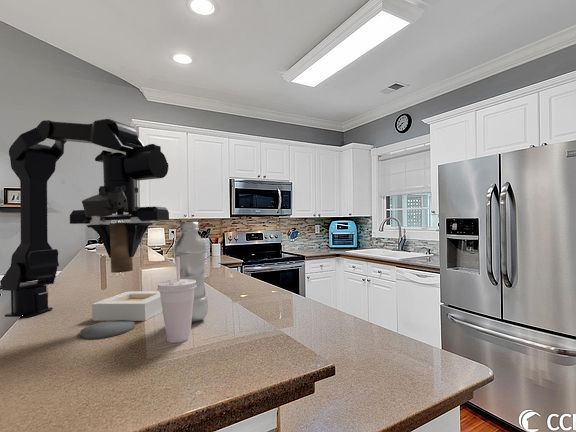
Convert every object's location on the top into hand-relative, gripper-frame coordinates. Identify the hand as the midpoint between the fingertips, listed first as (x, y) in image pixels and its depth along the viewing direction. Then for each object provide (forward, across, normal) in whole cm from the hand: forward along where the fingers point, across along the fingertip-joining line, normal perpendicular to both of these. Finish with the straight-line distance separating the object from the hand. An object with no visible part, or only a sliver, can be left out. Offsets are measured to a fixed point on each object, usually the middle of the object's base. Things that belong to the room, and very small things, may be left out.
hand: (121, 257), depth 68 cm
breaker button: (+12, -1, +6) cm, 14 cm away
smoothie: (+14, +16, -10) cm, 23 cm away
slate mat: (+13, 0, -6) cm, 14 cm away
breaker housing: (+13, -1, +6) cm, 15 cm away
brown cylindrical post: (+3, 0, 0) cm, 3 cm away
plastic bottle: (+14, +15, 0) cm, 20 cm away
